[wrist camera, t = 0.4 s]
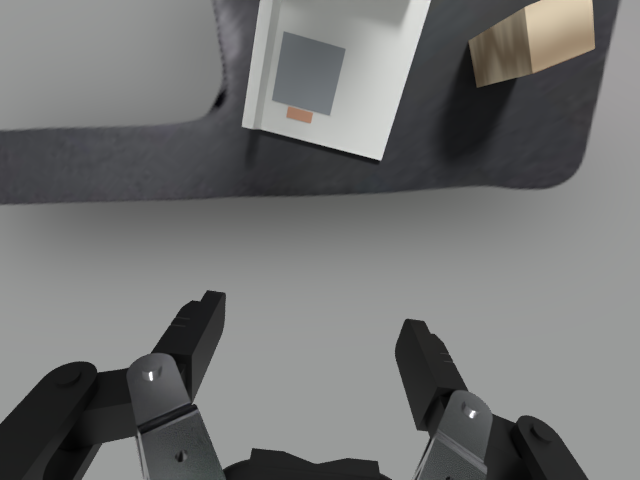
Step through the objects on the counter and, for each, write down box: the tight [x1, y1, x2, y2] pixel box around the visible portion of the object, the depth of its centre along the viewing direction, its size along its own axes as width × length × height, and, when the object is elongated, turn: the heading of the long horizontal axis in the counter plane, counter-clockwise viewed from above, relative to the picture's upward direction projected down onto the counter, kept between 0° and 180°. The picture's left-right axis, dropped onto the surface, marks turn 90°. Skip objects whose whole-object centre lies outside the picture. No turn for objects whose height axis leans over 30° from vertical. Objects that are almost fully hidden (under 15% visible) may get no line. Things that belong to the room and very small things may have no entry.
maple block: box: [468, 0, 595, 88], centre depth 29 cm, size 5×5×10 cm
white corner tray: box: [242, 0, 431, 160], centre depth 32 cm, size 18×16×5 cm
